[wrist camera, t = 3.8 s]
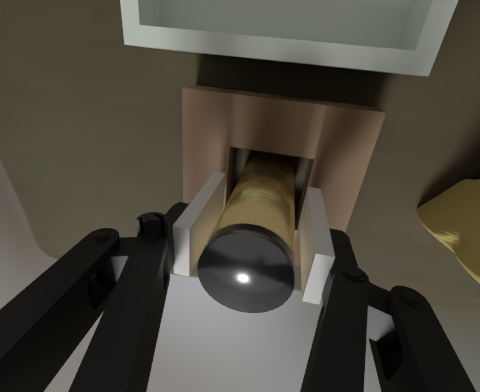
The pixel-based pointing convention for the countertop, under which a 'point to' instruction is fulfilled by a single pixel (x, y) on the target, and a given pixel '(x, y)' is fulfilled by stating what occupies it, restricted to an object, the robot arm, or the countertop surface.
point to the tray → (297, 30)
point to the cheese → (457, 222)
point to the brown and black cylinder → (254, 239)
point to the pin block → (280, 143)
